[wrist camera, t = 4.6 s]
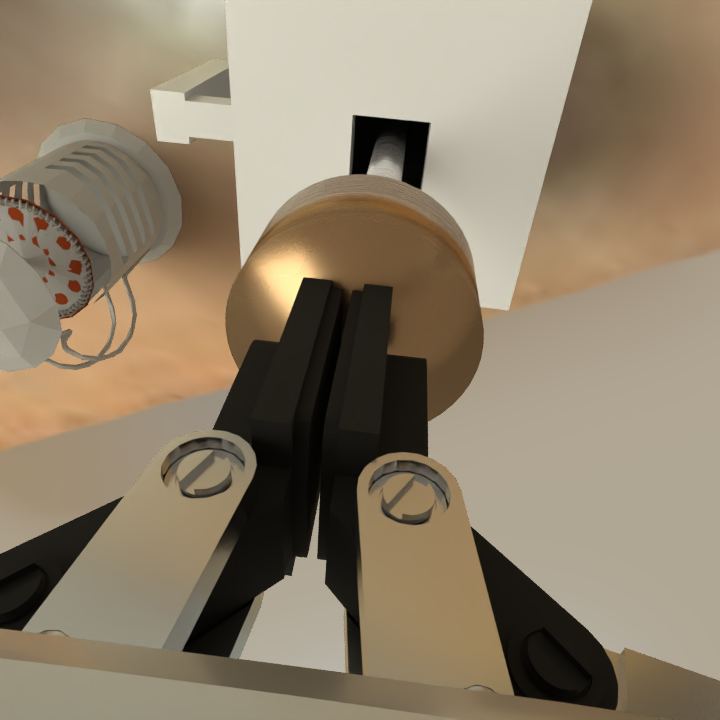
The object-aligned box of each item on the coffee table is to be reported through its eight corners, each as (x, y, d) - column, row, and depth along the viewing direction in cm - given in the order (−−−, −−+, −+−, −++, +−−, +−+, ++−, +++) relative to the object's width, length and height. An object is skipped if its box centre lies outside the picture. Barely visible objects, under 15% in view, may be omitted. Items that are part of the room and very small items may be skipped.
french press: (120, 90, 33) (-372, 307, 13) (225, 258, 38) (6, 589, 18) (3, 157, 36) (-541, 416, 16) (117, 302, 42) (-172, 627, 22)
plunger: (459, 64, 24) (511, 236, 9) (441, 181, 27) (457, 449, 12) (343, 53, 24) (214, 204, 9) (337, 170, 27) (233, 421, 12)
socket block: (531, -27, 27) (597, -16, 17) (483, 200, 34) (508, 310, 24) (219, -55, 28) (93, -61, 17) (234, 174, 35) (150, 270, 24)
